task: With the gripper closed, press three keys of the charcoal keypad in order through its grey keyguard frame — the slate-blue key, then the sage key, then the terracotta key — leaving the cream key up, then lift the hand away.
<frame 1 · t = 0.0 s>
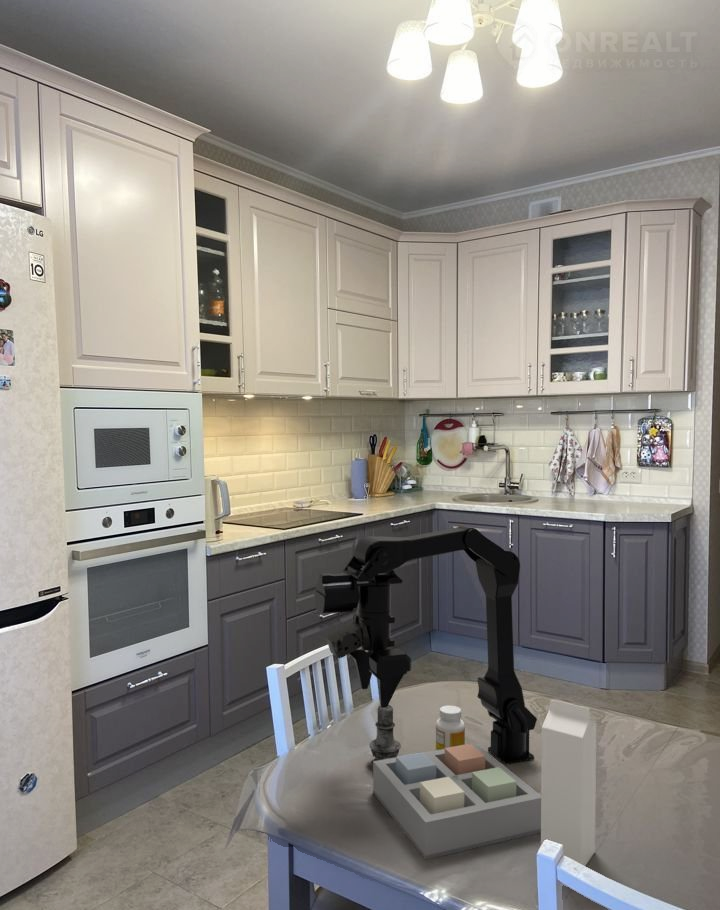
hand: (373, 697, 121), 15 cm above the table, tool pointing down, fingers open, 9 cm apart
keypad: (453, 811, 111), on the table
grey chess piece: (384, 765, 127), on the table
key sage: (493, 789, 108), point 5 cm above the table, slide at 0.0 cm
key cream: (441, 800, 105), point 5 cm above the table, slide at 0.0 cm
key terracotta: (464, 764, 117), point 5 cm above the table, slide at 0.0 cm
milk: (567, 855, 99), on the table
key slate: (415, 773, 113), point 5 cm above the table, slide at 0.0 cm
supplement bottle: (450, 761, 128), on the table
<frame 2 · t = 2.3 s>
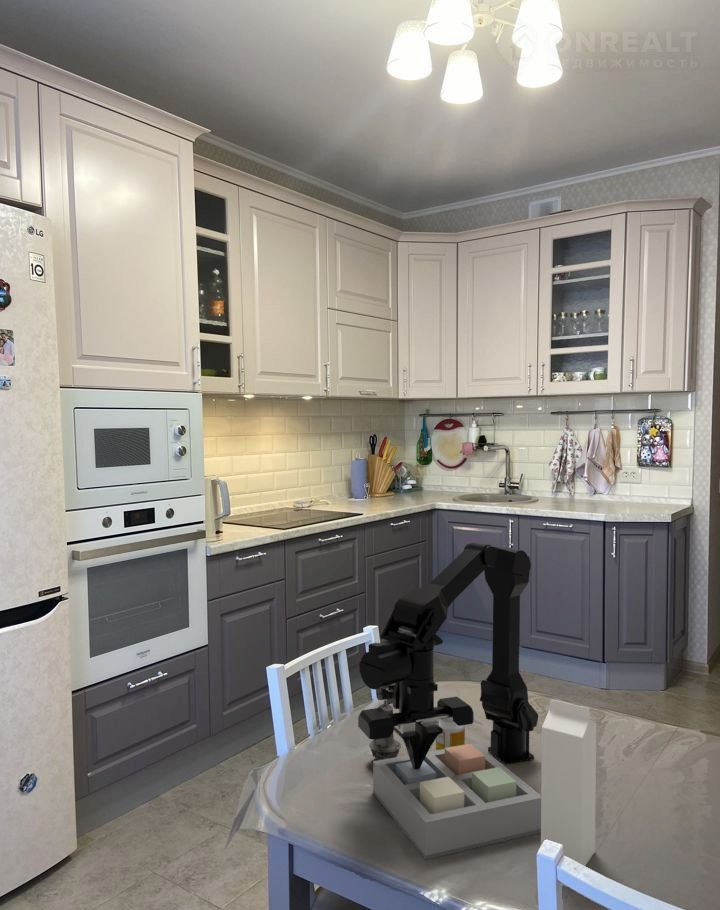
hand: (416, 768, 113), 6 cm above the table, tool pointing down, fingers closed, pressing on key slate
key slate: (415, 781, 113), point 4 cm above the table, slide at 1.3 cm, touching gripper
everything else where it was.
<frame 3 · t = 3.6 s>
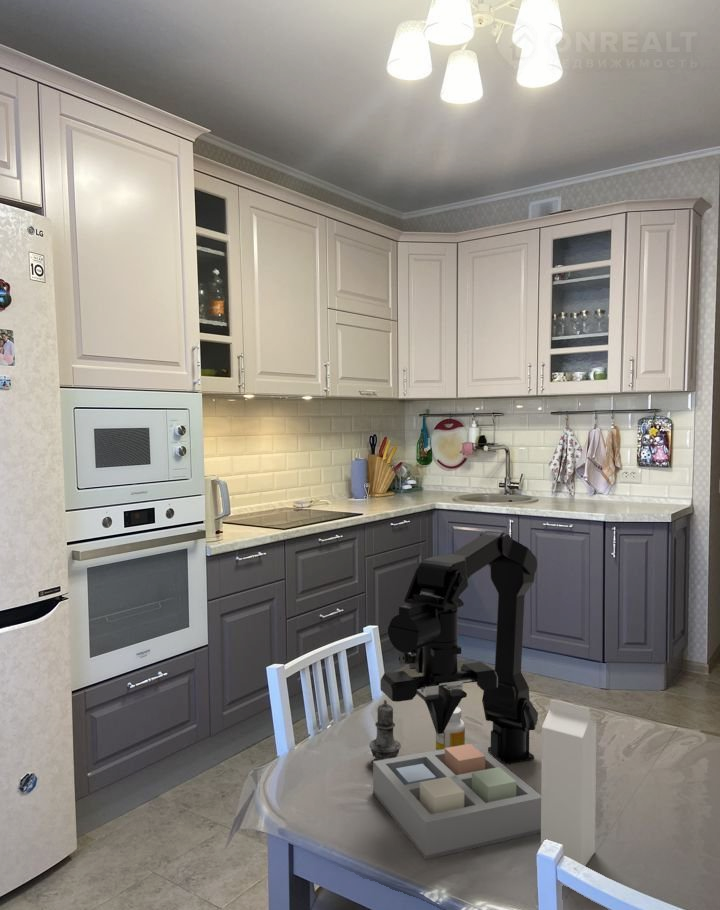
hand: (439, 732, 112), 12 cm above the table, tool pointing down, fingers closed
key slate: (415, 785, 113), point 3 cm above the table, slide at 2.0 cm
everything else where it was.
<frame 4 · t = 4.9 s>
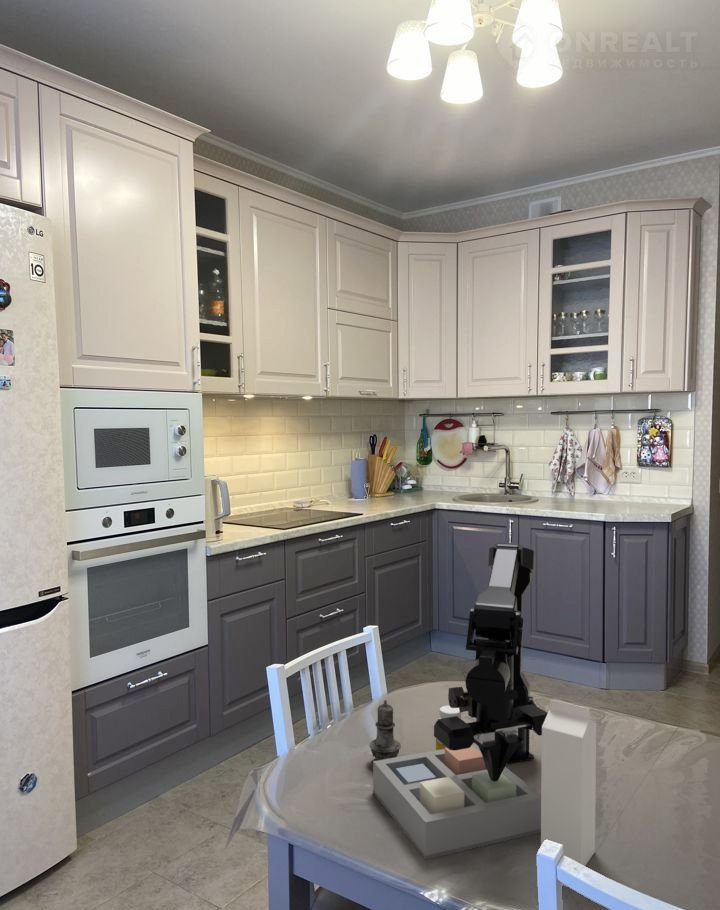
hand: (493, 779, 108), 6 cm above the table, tool pointing down, fingers closed, pressing on key sage
key sage: (493, 793, 108), point 4 cm above the table, slide at 0.5 cm, touching gripper
everything else where it was.
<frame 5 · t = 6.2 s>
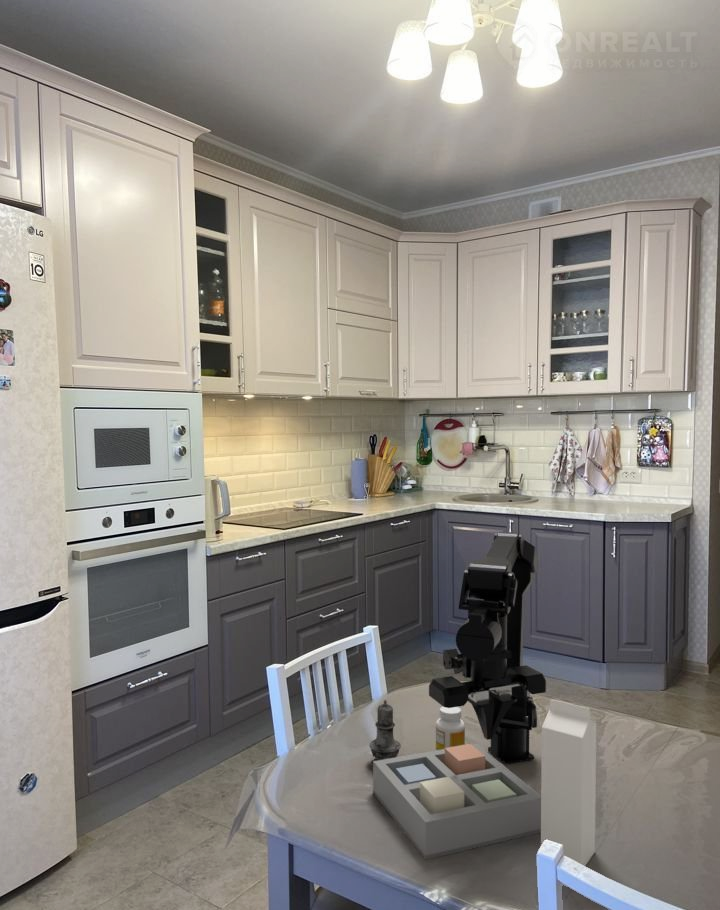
hand: (487, 738, 110), 12 cm above the table, tool pointing down, fingers closed
key sage: (493, 802, 108), point 3 cm above the table, slide at 2.0 cm
everything else where it was.
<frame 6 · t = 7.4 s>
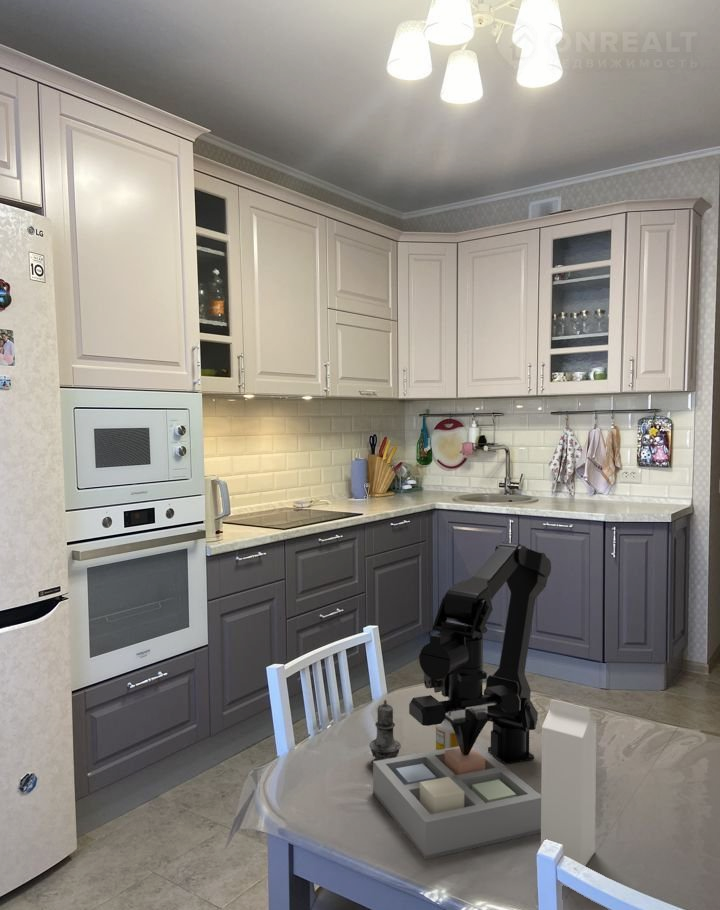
hand: (464, 754, 117), 7 cm above the table, tool pointing down, fingers closed, pressing on key terracotta
key terracotta: (464, 766, 117), point 4 cm above the table, slide at 0.4 cm, touching gripper
everything else where it was.
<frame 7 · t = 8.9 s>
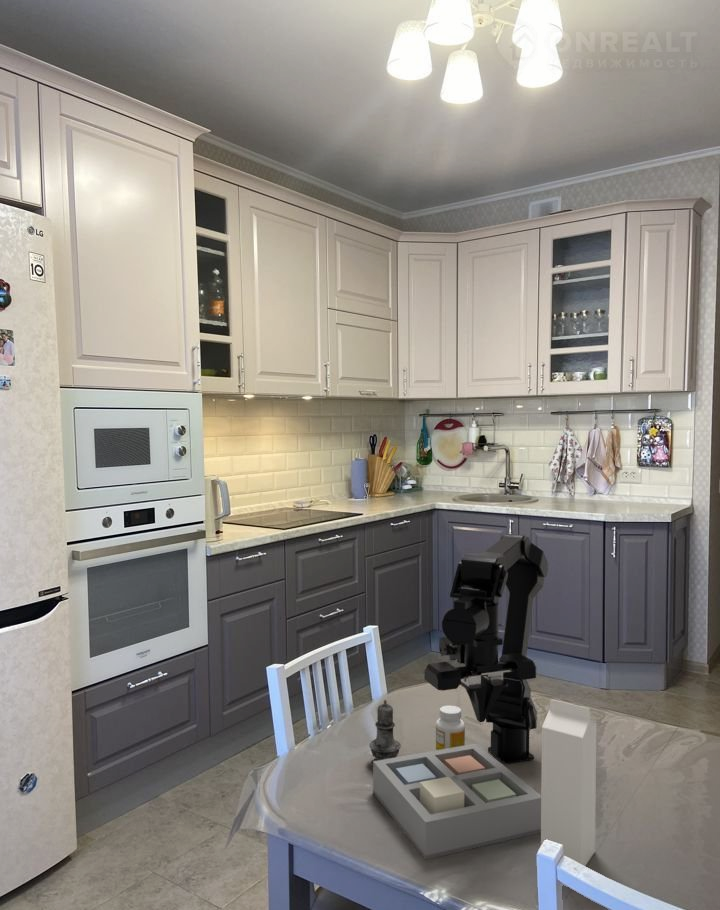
hand: (480, 721, 116), 12 cm above the table, tool pointing down, fingers closed
key terracotta: (464, 776, 117), point 3 cm above the table, slide at 2.0 cm
everything else where it was.
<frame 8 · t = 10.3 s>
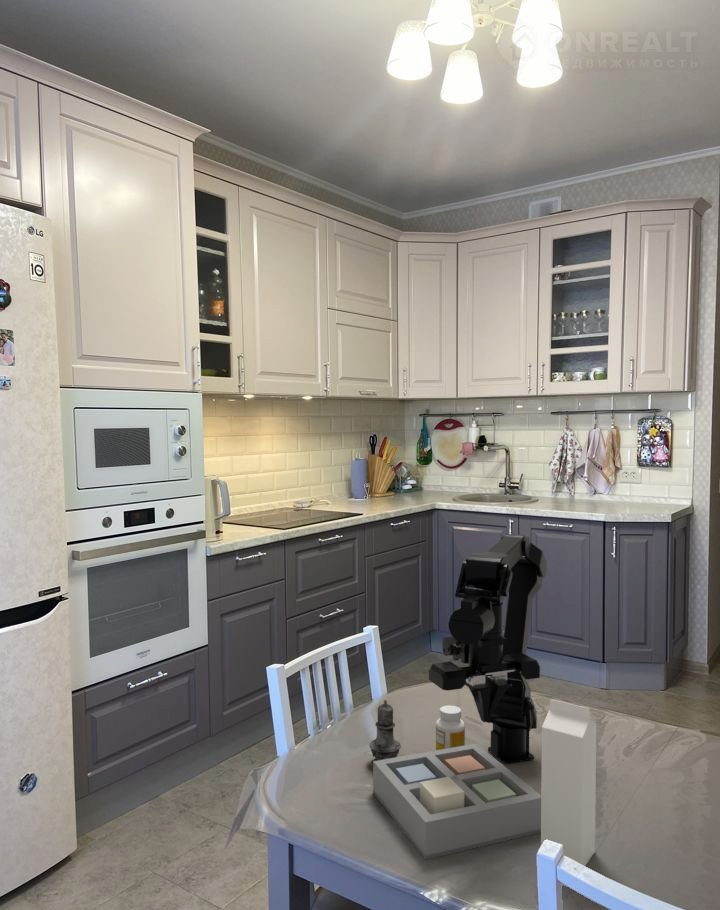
hand: (484, 721, 116), 13 cm above the table, tool pointing down, fingers closed
nothing on the table moved.
at the end: key slate slide at 2.0 cm; key terracotta slide at 2.0 cm; key cream slide at 0.0 cm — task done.
